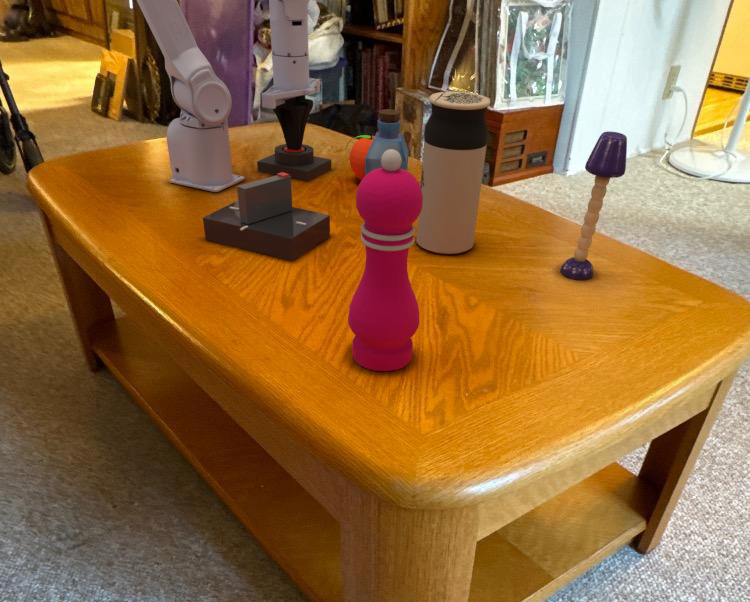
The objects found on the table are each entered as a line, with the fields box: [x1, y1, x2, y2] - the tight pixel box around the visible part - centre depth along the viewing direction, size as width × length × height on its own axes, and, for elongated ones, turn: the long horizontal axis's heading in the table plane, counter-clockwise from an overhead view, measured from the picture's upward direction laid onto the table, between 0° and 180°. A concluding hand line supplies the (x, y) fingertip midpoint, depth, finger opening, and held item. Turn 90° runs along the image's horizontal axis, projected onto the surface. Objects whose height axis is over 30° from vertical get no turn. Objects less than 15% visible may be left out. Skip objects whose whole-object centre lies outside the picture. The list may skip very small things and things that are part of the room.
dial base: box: [202, 200, 331, 262], centre depth 93 cm, size 14×12×3 cm
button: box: [284, 146, 305, 153], centre depth 115 cm, size 4×4×2 cm
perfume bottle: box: [365, 108, 410, 176], centre depth 105 cm, size 6×6×12 cm
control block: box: [256, 143, 332, 183], centre depth 116 cm, size 10×8×4 cm
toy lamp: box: [560, 131, 628, 281], centre depth 83 cm, size 5×5×17 cm
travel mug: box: [415, 91, 491, 255], centre depth 89 cm, size 8×8×18 cm
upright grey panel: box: [236, 172, 293, 224], centre depth 91 cm, size 8×2×5 cm, turn 138°
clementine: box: [345, 134, 375, 181], centre depth 112 cm, size 8×7×7 cm
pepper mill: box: [347, 149, 423, 372], centre depth 65 cm, size 7×7×20 cm
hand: (294, 148), depth 115 cm, fingers closed, pressing on button
